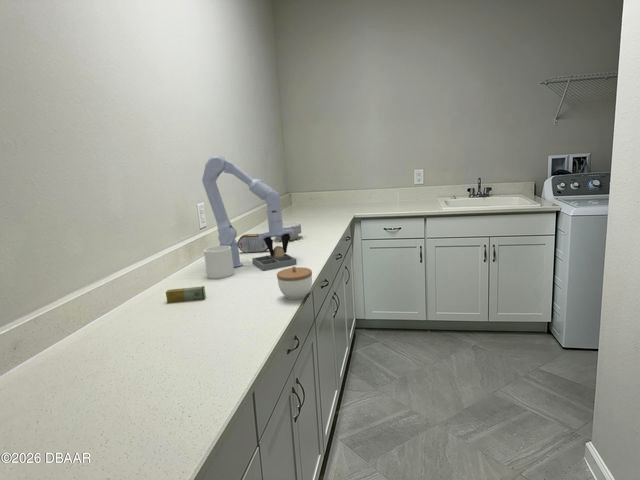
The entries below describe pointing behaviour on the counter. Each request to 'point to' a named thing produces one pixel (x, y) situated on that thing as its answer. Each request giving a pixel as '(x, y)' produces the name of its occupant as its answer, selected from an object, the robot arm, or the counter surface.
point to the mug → (219, 262)
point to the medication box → (186, 294)
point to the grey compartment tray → (273, 262)
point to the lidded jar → (295, 282)
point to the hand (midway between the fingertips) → (278, 253)
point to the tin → (252, 244)
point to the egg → (278, 252)
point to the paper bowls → (291, 225)
